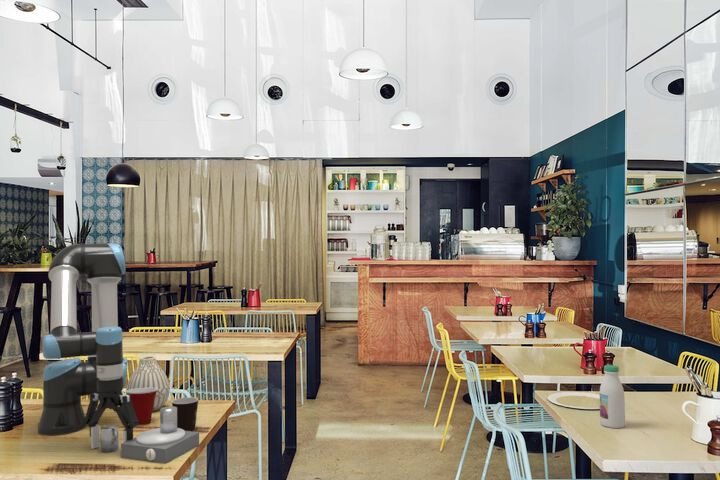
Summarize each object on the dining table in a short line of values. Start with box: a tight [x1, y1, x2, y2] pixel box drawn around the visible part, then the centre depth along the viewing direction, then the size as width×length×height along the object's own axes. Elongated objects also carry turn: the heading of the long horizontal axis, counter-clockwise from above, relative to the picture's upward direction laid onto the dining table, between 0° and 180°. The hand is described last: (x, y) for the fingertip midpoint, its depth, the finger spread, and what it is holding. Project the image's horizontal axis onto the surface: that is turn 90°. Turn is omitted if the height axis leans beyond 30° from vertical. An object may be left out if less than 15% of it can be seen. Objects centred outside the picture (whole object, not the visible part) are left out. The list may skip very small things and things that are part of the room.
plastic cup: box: [125, 388, 158, 426], centre depth 204 cm, size 11×11×12 cm
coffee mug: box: [171, 396, 199, 432], centre depth 196 cm, size 12×9×10 cm
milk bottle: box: [599, 364, 626, 429], centre depth 193 cm, size 8×8×20 cm
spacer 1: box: [100, 424, 120, 454], centre depth 176 cm, size 5×5×7 cm
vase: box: [125, 355, 171, 412], centre depth 221 cm, size 16×16×20 cm
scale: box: [120, 427, 200, 464], centre depth 174 cm, size 16×17×5 cm
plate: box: [547, 391, 600, 411], centre depth 223 cm, size 25×25×1 cm
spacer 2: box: [159, 405, 177, 434], centre depth 177 cm, size 5×5×7 cm
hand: (111, 449), depth 175 cm, fingers open, 12 cm apart
